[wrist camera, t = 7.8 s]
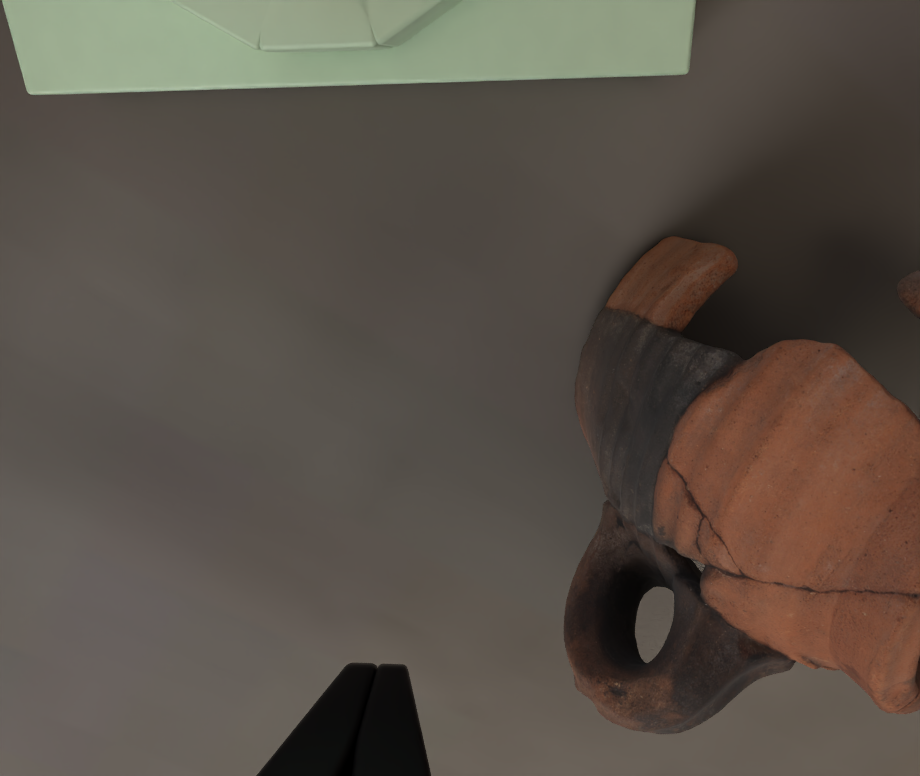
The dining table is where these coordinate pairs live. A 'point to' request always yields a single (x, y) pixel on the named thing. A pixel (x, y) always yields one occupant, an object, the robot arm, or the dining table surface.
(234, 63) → the box
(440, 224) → the dining table surface
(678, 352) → the pottery mug
